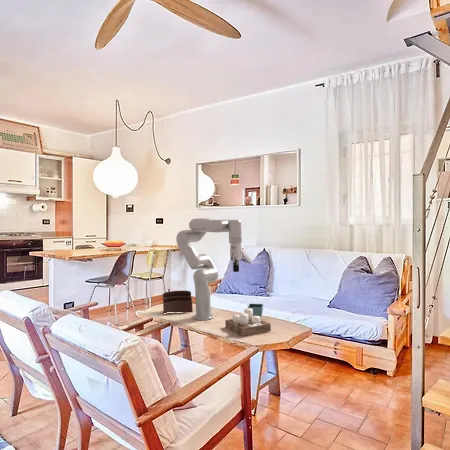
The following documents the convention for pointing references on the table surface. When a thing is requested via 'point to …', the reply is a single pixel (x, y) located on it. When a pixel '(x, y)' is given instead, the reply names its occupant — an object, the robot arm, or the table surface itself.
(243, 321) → the button
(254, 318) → the button
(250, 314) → the button
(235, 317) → the button
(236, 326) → the board
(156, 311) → the table surface
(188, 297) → the letter holder
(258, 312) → the flower pot
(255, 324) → the card
